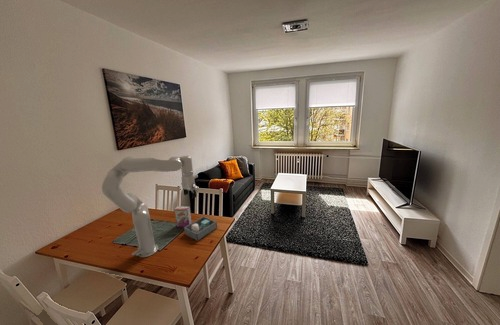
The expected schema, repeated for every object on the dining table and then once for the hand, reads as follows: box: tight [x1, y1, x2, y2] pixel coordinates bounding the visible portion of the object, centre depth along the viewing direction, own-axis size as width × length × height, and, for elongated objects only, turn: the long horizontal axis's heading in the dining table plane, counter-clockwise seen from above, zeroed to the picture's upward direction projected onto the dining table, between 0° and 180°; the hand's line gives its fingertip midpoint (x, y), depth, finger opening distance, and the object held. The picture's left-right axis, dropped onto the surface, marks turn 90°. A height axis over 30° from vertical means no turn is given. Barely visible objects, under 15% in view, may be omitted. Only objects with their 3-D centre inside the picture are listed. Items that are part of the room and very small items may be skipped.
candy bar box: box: [173, 205, 193, 228], centre depth 161 cm, size 11×5×16 cm, turn 84°
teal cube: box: [201, 219, 210, 229], centre depth 157 cm, size 5×5×5 cm
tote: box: [183, 216, 218, 242], centre depth 154 cm, size 20×16×6 cm
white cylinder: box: [192, 224, 199, 233], centre depth 149 cm, size 5×5×7 cm
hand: (190, 196), depth 142 cm, fingers open, 9 cm apart
